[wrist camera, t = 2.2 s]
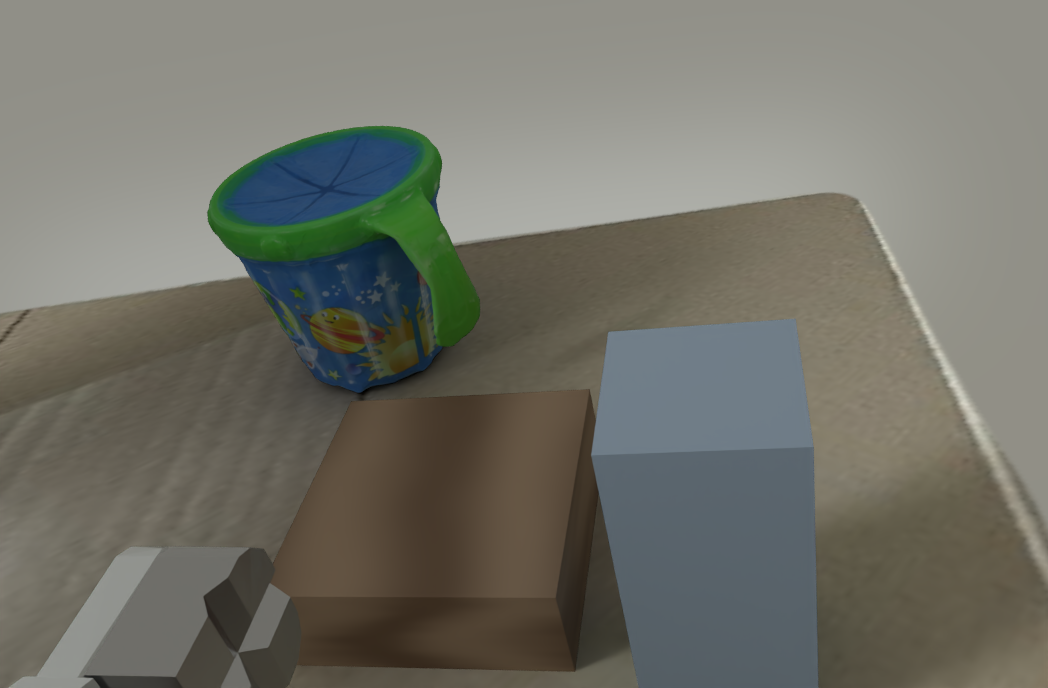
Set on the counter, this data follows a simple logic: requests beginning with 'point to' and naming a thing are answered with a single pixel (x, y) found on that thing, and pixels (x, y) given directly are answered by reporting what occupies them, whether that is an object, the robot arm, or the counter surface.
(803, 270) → the counter surface
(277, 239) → the snack cup
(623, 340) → the pillar
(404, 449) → the walnut base
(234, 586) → the robot arm
